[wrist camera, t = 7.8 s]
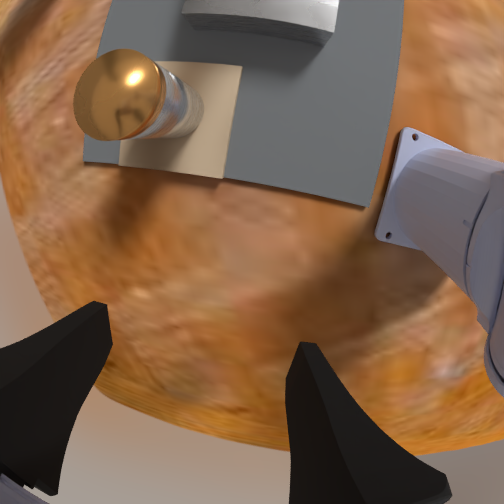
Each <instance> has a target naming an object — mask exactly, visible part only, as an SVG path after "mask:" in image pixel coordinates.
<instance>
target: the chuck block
mask: <svg viewBox="0 0 504 504" xmlns="http://www.w3.org/2000/svg"><path fill="white" fill-rule="evenodd" d="M338 4H339V0H185V2H184V6H183V9H182V13H181V14H182V15H183V16H184V17H185V18H186V20H187V21H188V22H189V23H190V25H191V26H192V27H193V28H194V30H215V31H229V32H240V33H249V34H257V35H264V36H271V37H277V38H282V39H288V40H293V41H298V42H303V43H307V44H311V45H316V46H320V47H324V46H325V45H326V44H327V42H328V41H329V39H330V38H331V36H332V35H333V33H334V30H335V24H336V17H337V10H338Z"/></svg>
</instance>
